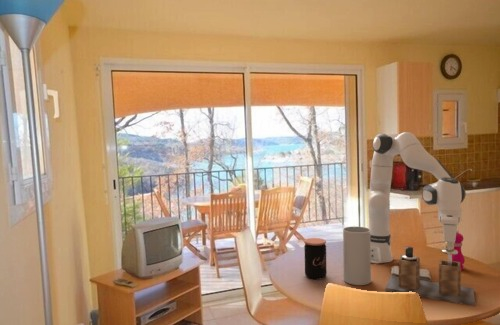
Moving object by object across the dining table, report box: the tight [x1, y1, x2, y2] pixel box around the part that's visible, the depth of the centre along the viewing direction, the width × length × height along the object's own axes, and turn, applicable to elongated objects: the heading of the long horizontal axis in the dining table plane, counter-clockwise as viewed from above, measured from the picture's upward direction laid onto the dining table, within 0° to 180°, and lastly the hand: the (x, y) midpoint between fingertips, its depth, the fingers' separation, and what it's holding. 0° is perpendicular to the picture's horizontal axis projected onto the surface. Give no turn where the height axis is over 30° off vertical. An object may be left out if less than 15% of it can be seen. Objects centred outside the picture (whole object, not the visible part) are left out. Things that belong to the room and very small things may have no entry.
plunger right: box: [441, 242, 458, 266], centre depth 157 cm, size 6×6×15 cm
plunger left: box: [401, 246, 418, 261], centre depth 165 cm, size 6×6×15 cm
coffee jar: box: [303, 237, 328, 280], centre depth 184 cm, size 11×11×18 cm
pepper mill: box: [452, 229, 466, 271], centre depth 189 cm, size 7×7×20 cm
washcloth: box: [390, 265, 432, 282], centre depth 181 cm, size 12×18×3 cm, turn 67°
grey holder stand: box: [385, 254, 476, 307], centre depth 162 cm, size 34×16×14 cm, turn 61°
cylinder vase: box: [342, 225, 372, 286], centre depth 175 cm, size 12×12×25 cm
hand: (449, 248), depth 157 cm, fingers closed on plunger right, 3 cm apart
